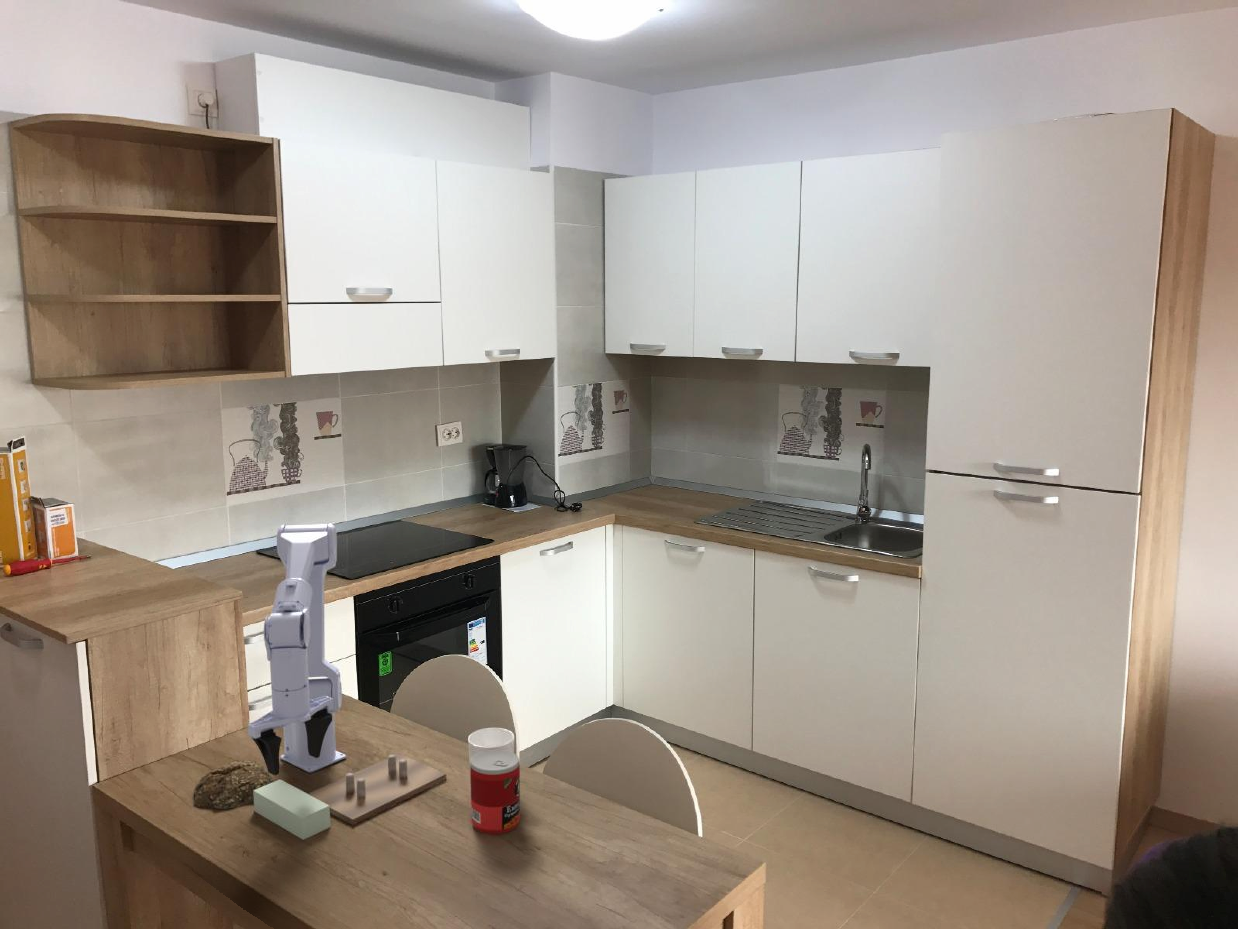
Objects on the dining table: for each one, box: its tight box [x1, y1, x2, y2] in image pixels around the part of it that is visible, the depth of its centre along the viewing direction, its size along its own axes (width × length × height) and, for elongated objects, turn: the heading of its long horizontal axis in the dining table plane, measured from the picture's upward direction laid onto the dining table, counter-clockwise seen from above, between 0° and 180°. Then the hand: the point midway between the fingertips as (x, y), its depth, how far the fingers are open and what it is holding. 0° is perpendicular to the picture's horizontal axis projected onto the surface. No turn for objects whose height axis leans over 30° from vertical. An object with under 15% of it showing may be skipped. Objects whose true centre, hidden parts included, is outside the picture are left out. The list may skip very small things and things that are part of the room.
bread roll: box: [193, 760, 274, 810], centre depth 170 cm, size 13×12×5 cm
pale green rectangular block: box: [253, 779, 331, 841], centre depth 161 cm, size 14×5×4 cm, turn 51°
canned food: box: [469, 750, 521, 835], centre depth 160 cm, size 8×8×11 cm
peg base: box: [307, 753, 447, 826], centre depth 171 cm, size 13×20×4 cm, turn 142°
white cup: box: [467, 727, 515, 764], centre depth 170 cm, size 8×8×10 cm
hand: (294, 764), depth 160 cm, fingers open, 7 cm apart
